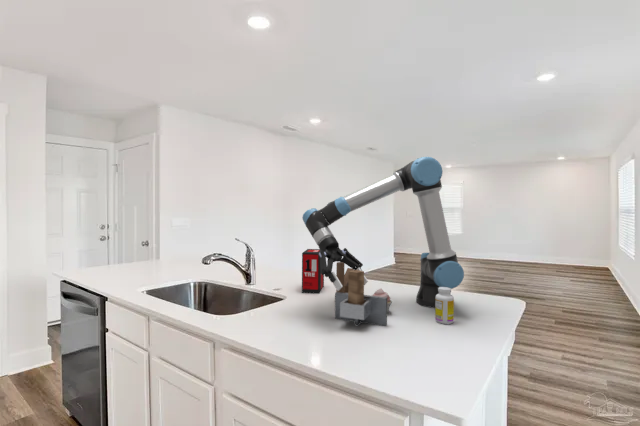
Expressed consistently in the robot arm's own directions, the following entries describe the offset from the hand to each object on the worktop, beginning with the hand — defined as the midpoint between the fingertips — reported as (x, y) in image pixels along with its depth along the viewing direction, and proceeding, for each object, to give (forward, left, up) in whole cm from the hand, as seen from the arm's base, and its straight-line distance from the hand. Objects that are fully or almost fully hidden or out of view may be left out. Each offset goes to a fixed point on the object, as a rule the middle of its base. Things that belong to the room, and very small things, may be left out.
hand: (353, 286), depth 133 cm
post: (-1, 0, -9) cm, 9 cm away
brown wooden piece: (+15, -31, -15) cm, 37 cm away
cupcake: (-5, -20, -15) cm, 25 cm away
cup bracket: (-1, 0, -14) cm, 14 cm away
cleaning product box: (+37, -44, -15) cm, 59 cm away
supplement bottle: (-30, -19, -15) cm, 38 cm away
